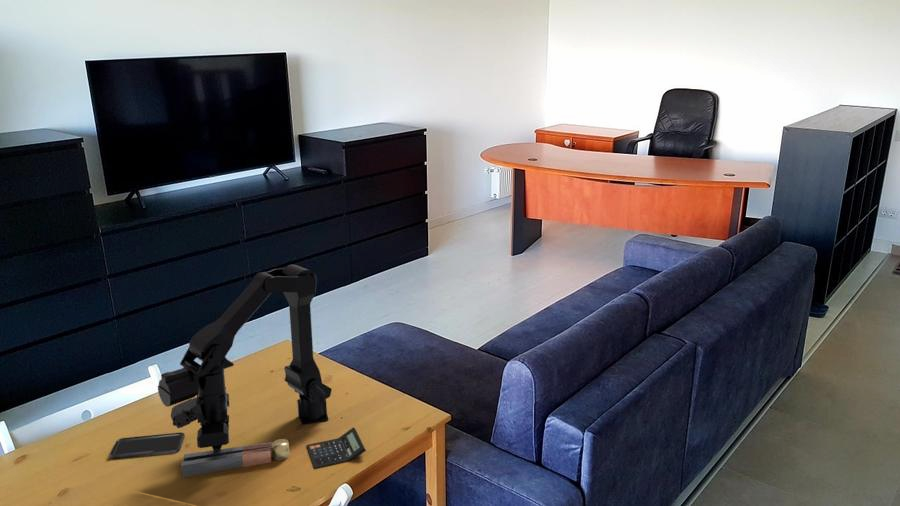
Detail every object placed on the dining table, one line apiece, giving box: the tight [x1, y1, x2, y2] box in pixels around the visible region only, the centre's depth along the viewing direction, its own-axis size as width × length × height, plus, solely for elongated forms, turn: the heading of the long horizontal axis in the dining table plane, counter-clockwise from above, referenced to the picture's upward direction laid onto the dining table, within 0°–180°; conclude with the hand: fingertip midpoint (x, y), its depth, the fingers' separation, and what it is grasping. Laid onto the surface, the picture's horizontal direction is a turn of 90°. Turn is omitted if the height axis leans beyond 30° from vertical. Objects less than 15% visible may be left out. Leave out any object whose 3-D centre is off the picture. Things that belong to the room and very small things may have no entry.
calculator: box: [306, 426, 367, 469], centre depth 152 cm, size 9×12×3 cm
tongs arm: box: [183, 438, 291, 462], centre depth 148 cm, size 22×4×3 cm, turn 105°
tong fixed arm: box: [180, 447, 272, 478], centre depth 146 cm, size 18×2×3 cm, turn 108°
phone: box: [109, 432, 185, 460], centre depth 154 cm, size 8×1×15 cm
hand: (216, 451), depth 149 cm, fingers closed
